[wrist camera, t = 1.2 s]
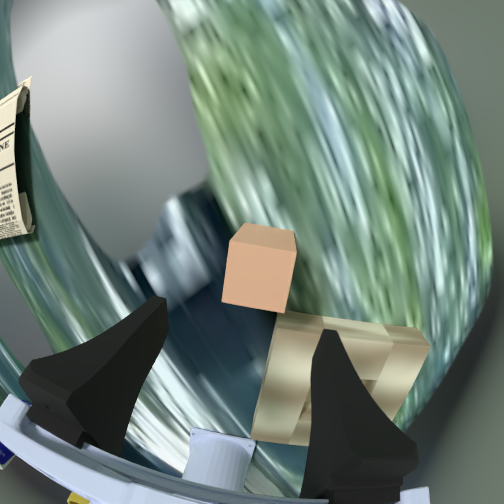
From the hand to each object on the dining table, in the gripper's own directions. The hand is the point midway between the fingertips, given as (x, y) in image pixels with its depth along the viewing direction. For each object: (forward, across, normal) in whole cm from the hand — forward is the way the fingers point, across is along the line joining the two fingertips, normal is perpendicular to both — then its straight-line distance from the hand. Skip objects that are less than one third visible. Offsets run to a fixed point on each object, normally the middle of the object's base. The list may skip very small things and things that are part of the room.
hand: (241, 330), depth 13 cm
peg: (+12, 0, +3) cm, 12 cm away
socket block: (+9, -9, +14) cm, 19 cm away
